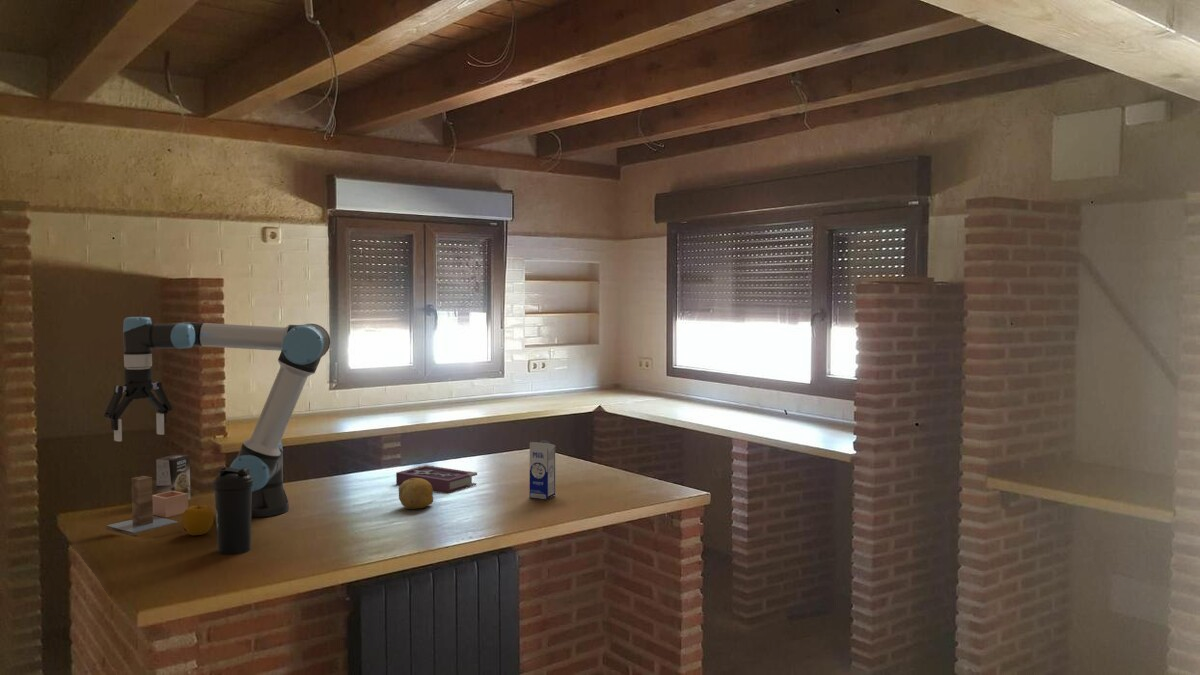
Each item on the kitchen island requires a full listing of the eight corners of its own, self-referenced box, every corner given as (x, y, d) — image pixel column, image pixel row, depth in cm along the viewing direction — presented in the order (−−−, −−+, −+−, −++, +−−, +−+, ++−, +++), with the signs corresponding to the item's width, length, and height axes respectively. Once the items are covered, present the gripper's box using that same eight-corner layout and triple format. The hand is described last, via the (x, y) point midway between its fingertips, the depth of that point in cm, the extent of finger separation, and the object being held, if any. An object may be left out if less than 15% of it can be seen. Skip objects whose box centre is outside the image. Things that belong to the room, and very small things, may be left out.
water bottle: (221, 545, 248) (220, 464, 247) (258, 544, 249) (257, 464, 248) (208, 556, 238) (207, 472, 237) (247, 555, 239) (246, 472, 238)
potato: (440, 506, 294) (440, 477, 293) (410, 514, 284) (410, 483, 283) (420, 501, 300) (420, 472, 299) (390, 508, 290) (390, 479, 290)
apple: (193, 540, 253) (192, 510, 252) (176, 535, 257) (175, 506, 257) (220, 533, 260) (219, 504, 259) (202, 529, 264) (202, 500, 264)
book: (477, 485, 327) (477, 472, 326) (448, 494, 313) (448, 480, 312) (425, 477, 340) (425, 464, 339) (396, 485, 326) (396, 472, 326)
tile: (178, 525, 268) (178, 521, 268) (134, 536, 256) (134, 532, 256) (151, 518, 275) (151, 515, 275) (106, 529, 263) (106, 525, 263)
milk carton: (529, 498, 306) (529, 441, 305) (537, 493, 313) (537, 438, 311) (547, 500, 304) (547, 442, 303) (555, 495, 310) (555, 439, 309)
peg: (153, 522, 266) (152, 477, 266) (140, 525, 263) (139, 479, 262) (145, 521, 268) (144, 475, 268) (132, 523, 265) (131, 478, 264)
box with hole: (188, 515, 280) (187, 493, 280) (165, 520, 273) (165, 498, 273) (173, 512, 284) (173, 490, 283) (151, 517, 277) (150, 495, 277)
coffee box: (173, 508, 289) (172, 459, 288) (156, 507, 290) (155, 458, 289) (191, 501, 298) (190, 454, 297) (174, 500, 299) (173, 453, 298)
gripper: (168, 364, 278) (169, 430, 279) (89, 370, 256) (91, 442, 257) (183, 365, 274) (184, 432, 275) (105, 372, 252) (106, 445, 254)
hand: (139, 437), depth 266 cm, fingers open, 13 cm apart
